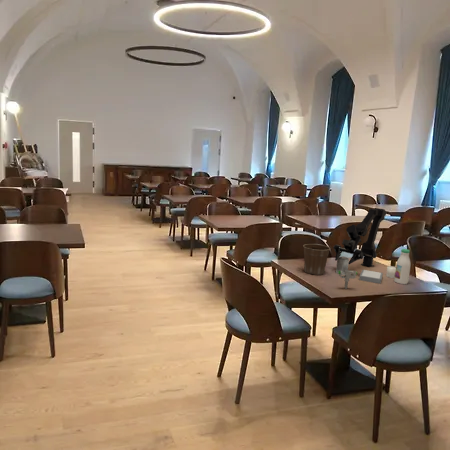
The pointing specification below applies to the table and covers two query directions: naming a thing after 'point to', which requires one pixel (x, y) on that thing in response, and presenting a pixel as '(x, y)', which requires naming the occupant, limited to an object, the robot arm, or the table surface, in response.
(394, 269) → the white short cylinder
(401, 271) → the milk bottle
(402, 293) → the table surface
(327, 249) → the plant pot
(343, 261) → the housing
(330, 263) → the table surface
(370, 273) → the stand
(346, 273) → the mechanical component
